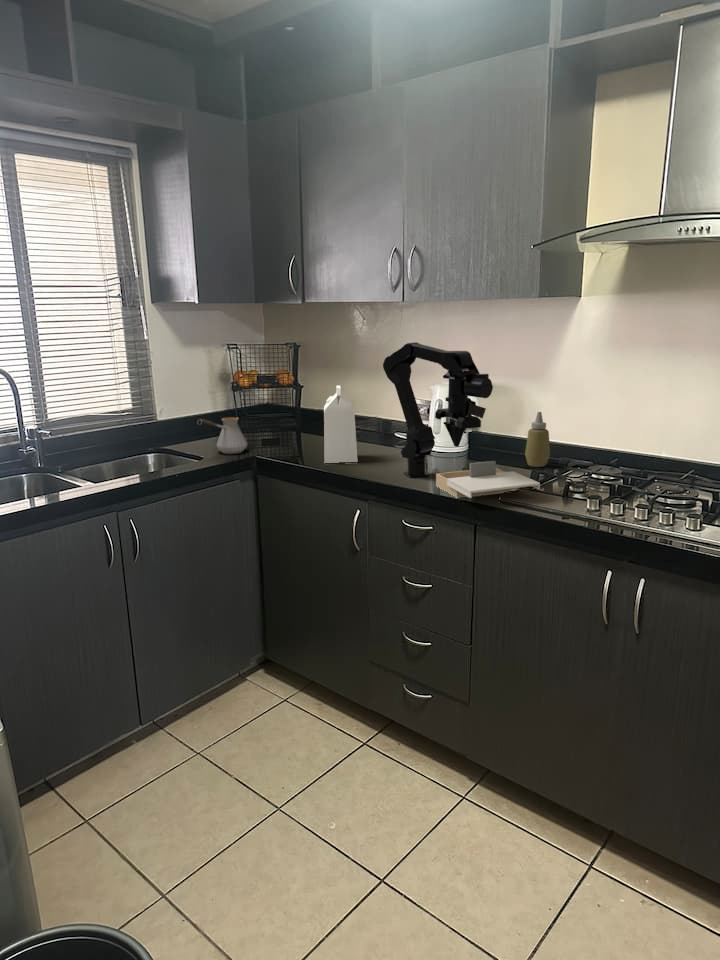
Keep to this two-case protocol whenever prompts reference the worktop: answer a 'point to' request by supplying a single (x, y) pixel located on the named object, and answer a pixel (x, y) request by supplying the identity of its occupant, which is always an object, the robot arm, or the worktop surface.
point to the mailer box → (442, 477)
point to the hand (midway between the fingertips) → (456, 446)
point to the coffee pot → (229, 436)
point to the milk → (339, 430)
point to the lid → (488, 479)
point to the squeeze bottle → (538, 443)
